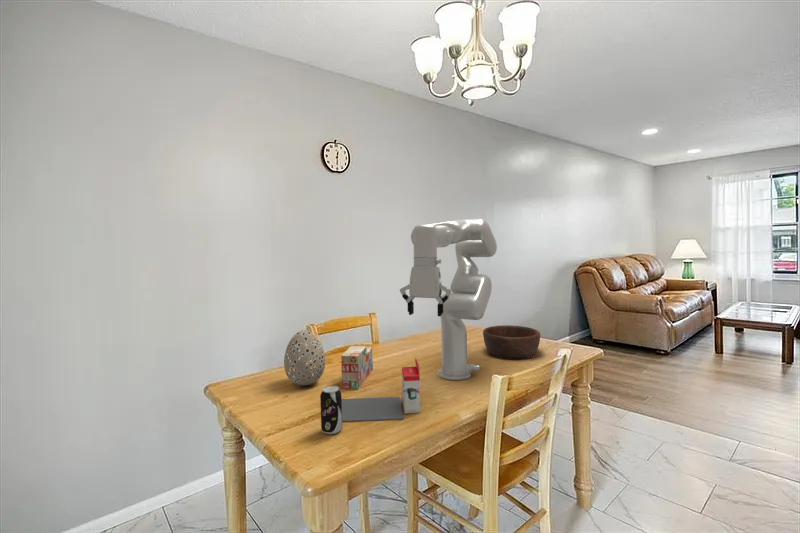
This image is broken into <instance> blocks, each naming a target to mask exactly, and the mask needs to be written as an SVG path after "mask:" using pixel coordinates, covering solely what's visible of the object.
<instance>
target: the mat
mask: <svg viewBox="0 0 800 533" xmlns="http://www.w3.org/2000/svg"><path fill="white" fill-rule="evenodd" d="M401 399H402V398H401V396H383V397H379V396H378V397H358V398H357V397H355V398H353V397H352V398H342V423H352V422H355V423H357V422H375V421H377V422H378V421H380V422H381V421H400V420H401V421H402V420H404V413H403V408H402V406H403V405H402V400H401Z"/></svg>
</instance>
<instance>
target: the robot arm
mask: <svg viewBox="0 0 800 533" xmlns="http://www.w3.org/2000/svg"><path fill="white" fill-rule="evenodd" d="M410 241H411V242H412V245H413V266H412V267H411V270H410V275H409V276H410V277H409V284H407V285H405V286H404V287H402V288H399V292H400V294H401V296H402V298H403V299H404V301H405V302H406V304H407V312H408V315H409V316H412V315H413V314H414V312H415V311H414V305H415V304H414V303H415V302H414V299H415V298H423V299H424V298H425V299H436V301H437V302H438V303H437V317H440V323H441V328H440V329H441V368H440V369H438V371H437V375H438V376H439V377H440V378H442V379H445V380H448V381H462V380H467V379H469V378H471V376H472V371H480V365H479V364H477V365H476V364H475V363H468V350H467V345H468V344H467V343H468V342H467V341H468V334H467V333H468V332H467V328H466V325H465V323H464V321H463V320H470V321H479V320H481V319H482V318H483V317H484V315H485V312H486V310H487V306H488V303H489V301H490V298H491V294H492V281H491V278H490V277H489V276H488V275H487V274H482V273H479V268H478V266H477V263H475V262H474V261H473V260H472V259H471V258H492V257H493V256H494V255H496V252H497V248H498V246H497V240H496V237H495V236H494V233H493V231H492V229H491V227H490V224H489V223H488V221H486V220H485V219H484V218H462V219H456V220H450V221H449V220H448V221H443V222H438V223H430V224H417V225H415V226H414V227H413V229H412V231H411V233H410ZM454 244H455V247H454V248H455V256H456V262H457V267H456V268H457V269H456V272H455V273H454V276H453V279H452V280H451V283H450V288H448V287H446V286H444V285H443V284H442V275H441V269H440V267H439V266H438V265H439V264H442V259H441V258H440V259H439V258H438V257H437V256H438V254H437V252H438V251H437V249H438V248H445V247H446V248H447V247H448V246H450V245H454ZM407 290H408V292H409V293H408V294H407V292H406V291H407ZM443 292H445V294H442V293H443Z"/></svg>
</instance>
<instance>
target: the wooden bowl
mask: <svg viewBox="0 0 800 533" xmlns="http://www.w3.org/2000/svg"><path fill="white" fill-rule="evenodd" d="M482 335H483V342H484V346H485V348H486V350H487V352H488V353H489V354H492V356H493V355H494V356H493V357H496V356H497V357H496V358H500V357H502V358H501V359H506V358H512V359H511V360H523V359H522V358H525V359H529V358H528V357H530V358H532V357H533V356H535V354H537V351H538V348H539V346H540V341H541V332H540V331H539V330H537V329H535V328H532V327H528V326H522V325H509V324H508V325H507V324H505V325H504V324H503V325H494V326H488V327H486V328H483V331H482ZM531 356H532V357H531Z"/></svg>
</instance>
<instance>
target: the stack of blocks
mask: <svg viewBox="0 0 800 533" xmlns="http://www.w3.org/2000/svg"><path fill="white" fill-rule="evenodd" d="M340 357H341V360H340V361H341V388H342V389H345V390H347V389H348V390H359V389H360V388H361V387H362V386H363V384H364V383H365V382H366V380H367V379H368V377H369V375H370V374H371V373H372V371H373V369H374V368H373V367H374V365H373V364H374V363H373V359H374V358H373V348H372V347H367V346H366V345H364V346H358V345H357V346H356V345H355V346H354V345H351V346H350V347H348V348H347V350H346V351H344V352H343V353H342V354H341V356H340Z"/></svg>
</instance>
